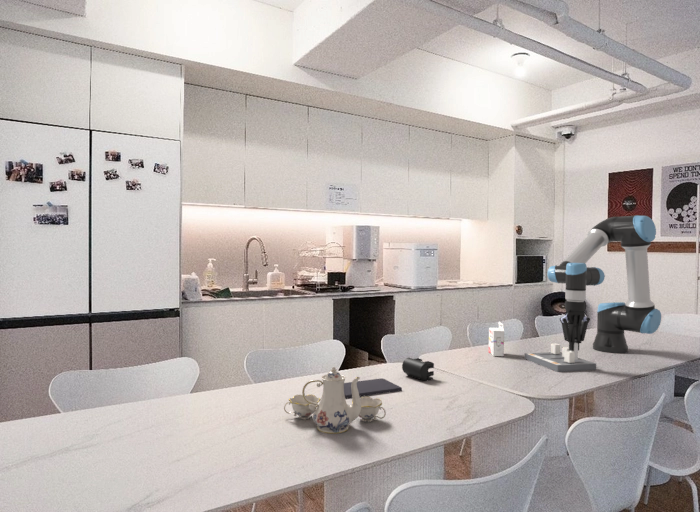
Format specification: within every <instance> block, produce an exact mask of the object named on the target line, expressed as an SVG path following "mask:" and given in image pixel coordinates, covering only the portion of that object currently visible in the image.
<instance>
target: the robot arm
mask: <svg viewBox="0 0 700 512" xmlns="http://www.w3.org/2000/svg"><path fill="white" fill-rule="evenodd" d="M656 235H657V228H656V224H655V222H654V220H652V218H651V217H649V216H647V215H626V216H624V215H623V216H611V217H608V218H606V219H604V220H601V222H599V223H597V224H596V225H594V226H593V227H592V228H591V229H589V231H588V232H587V236H586V237H585V238H584V239H583V240H582V241H581V242H580V244H578V245H577V246H576V248H574V249H573V251H571V252H570V254H569V255H568V256H567V257H565V259H564V260H562V262H561V263H560V264H559V265H551V266H549V268H548V269H547V273H546V274H547V278H548V281H549V282H551V283H554V284H555V283H556V284H565V293H564V295H565V297H564V298H565V301H564V310H565V313H564V316H562V317H560V318H559V321H560V323H561V328H562V332H563V338H564V341H566V342H568V347H569V350H570V351H571V352H574V353H575V359H578V358H579V356H578V355H579V351H580V344H582V342H585V338H586V333H587V330H588V325H589V322H590V321H591V318H590V317H587V316H586V313H585V311H586V306H587V305H586V303H587V302H585V301H586V300H587V291H586V290H587V286H594V287H595V286H598V285H601V284H602V283H603V282H604V281H605V277H606V275H605V272H604V270H602V269H601V268H600V267H596V266H591V267H590V266H588V267H587V264H586V263H588V261H589V260H590V259H591V258H592V257H593V256H594V255H595V254H596V253H597V252H598V251H599V250H600V249H601V248H602V247H605V246H607V245H608V244H609V243H615V242H616V243H617V242H620V247H621V248H622V249H624V251H625V252H624V253H625V265H626V266H625V269H626V280H627V281H626V283H627V296H628V300H627V301H626V302H624V301H623V302H621V301H618V302H600V303H599V304H598V306H597V311H596V312H597V313H596V314H597V315H596V317H597V318H596V319H597V322H596V323H597V325H596V326H597V328H596V329H597V330H596V335H595V337H594V341H593V342H592V349H594V350H596V351H599V352H605V353H606V352H607V353H615V354H617V353H618V354H622V353H623V354H625V353H628V352H629V346H628V344H627V339H626V336H625V331H626V332H634V333H637V334H638V333H640V334H650V335H652V334H654V333H655V332H657V330H658V329H659V328H660V325H661V321H662V313H661V311H660V309H658V308H656V307H655V302H653V301H652V300H651V292H650V291H651V289H650V288H651V287H650V274H649V259H648V248H649V247H650V246H651V245H652V244H651V243H652V242H653V241H654V240H655V239H656Z"/></svg>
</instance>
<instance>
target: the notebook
mask: <svg viewBox="0 0 700 512" xmlns="http://www.w3.org/2000/svg"><path fill="white" fill-rule="evenodd" d="M351 384H352V381H349V382H344V395H345V400H346V399H352V390H351ZM357 389H358V392H359V396H360V398H361V397H365V396H367V397H369V396H373V395H381V394H389V393H396V392H402V390H403V388H402V387H401V386H399V385H397V384H396V383H393V382H391V381H390V380H387V379H385V378H373V379H367V380H365V379H364V380H358V381H357Z"/></svg>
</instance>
